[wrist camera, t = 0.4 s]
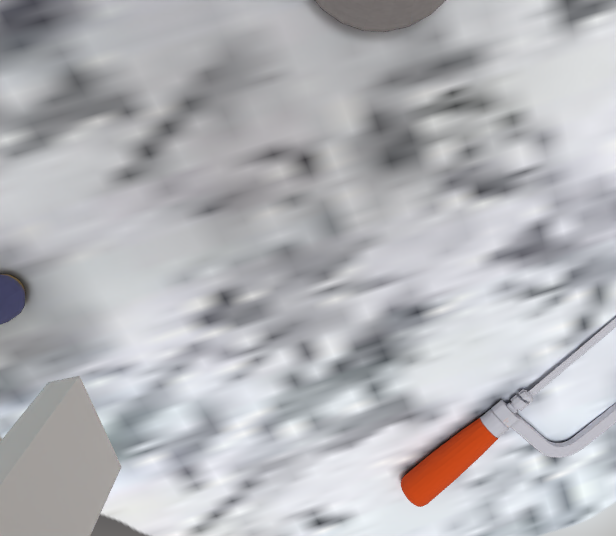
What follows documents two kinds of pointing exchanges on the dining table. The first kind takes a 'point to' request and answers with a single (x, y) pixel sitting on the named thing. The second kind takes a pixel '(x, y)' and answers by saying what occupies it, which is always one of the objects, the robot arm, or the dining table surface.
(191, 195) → the dining table surface
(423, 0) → the coffee pot
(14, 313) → the rubber mallet
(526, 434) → the hand saw
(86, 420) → the robot arm
